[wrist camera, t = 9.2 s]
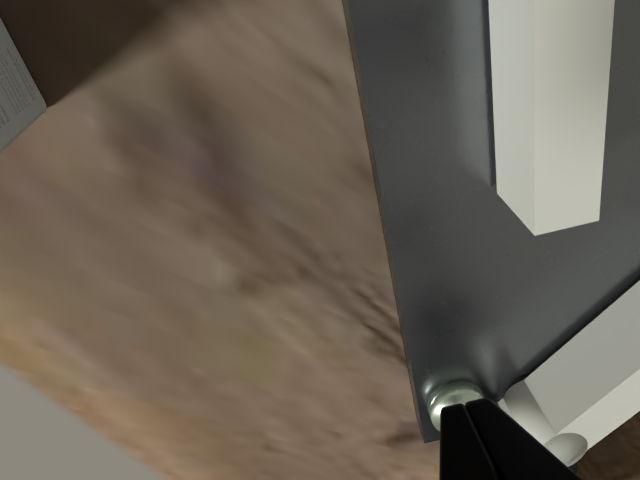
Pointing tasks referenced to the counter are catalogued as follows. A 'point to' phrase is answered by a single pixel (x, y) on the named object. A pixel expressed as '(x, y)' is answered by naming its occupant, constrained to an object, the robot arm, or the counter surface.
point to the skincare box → (16, 93)
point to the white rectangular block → (584, 384)
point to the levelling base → (482, 203)
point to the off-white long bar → (550, 107)
